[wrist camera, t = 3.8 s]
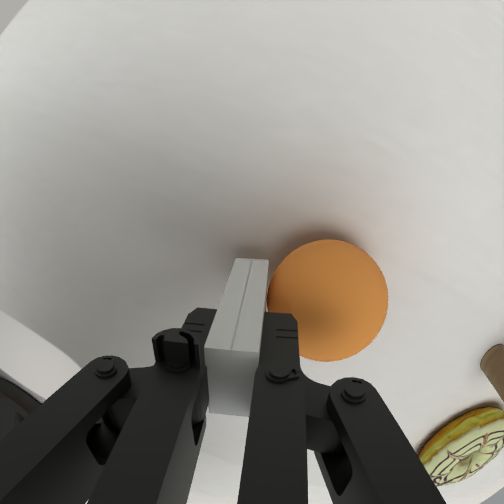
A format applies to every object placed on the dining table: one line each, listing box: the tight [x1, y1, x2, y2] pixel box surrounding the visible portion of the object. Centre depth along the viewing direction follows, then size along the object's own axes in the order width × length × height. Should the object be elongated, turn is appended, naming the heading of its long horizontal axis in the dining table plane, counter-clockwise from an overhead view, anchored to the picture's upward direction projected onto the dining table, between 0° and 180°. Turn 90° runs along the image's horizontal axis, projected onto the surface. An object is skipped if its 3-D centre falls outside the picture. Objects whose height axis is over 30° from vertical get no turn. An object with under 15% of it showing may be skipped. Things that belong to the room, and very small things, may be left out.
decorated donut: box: [419, 407, 504, 486], centre depth 21 cm, size 10×11×4 cm
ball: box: [267, 240, 388, 362], centre depth 14 cm, size 6×6×6 cm
